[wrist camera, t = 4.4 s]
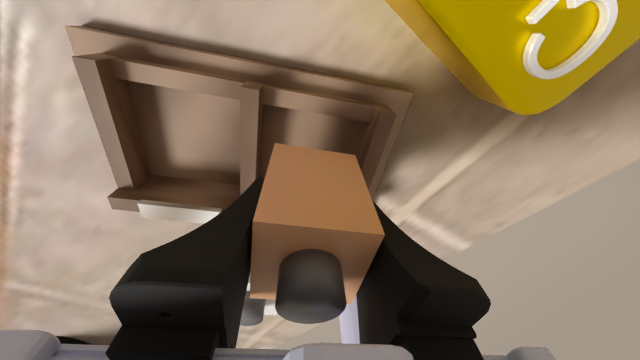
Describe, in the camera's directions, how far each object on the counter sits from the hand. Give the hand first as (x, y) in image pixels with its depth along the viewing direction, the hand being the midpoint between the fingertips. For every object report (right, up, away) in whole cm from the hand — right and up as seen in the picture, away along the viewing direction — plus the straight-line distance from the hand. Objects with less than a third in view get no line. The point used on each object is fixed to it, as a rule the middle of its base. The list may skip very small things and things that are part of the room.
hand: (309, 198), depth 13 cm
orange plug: (0, +1, +1) cm, 1 cm away
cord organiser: (-4, +4, +5) cm, 7 cm away
